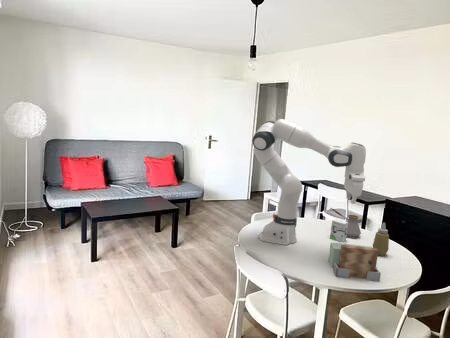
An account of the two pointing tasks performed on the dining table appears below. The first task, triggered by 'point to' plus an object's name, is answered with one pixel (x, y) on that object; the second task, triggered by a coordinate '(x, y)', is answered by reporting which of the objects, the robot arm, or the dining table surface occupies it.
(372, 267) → the brown wooden block
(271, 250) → the dining table surface
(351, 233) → the coffee pot
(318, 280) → the dining table surface
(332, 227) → the ink box
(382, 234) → the squeeze bottle
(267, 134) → the robot arm
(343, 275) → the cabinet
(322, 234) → the dining table surface
